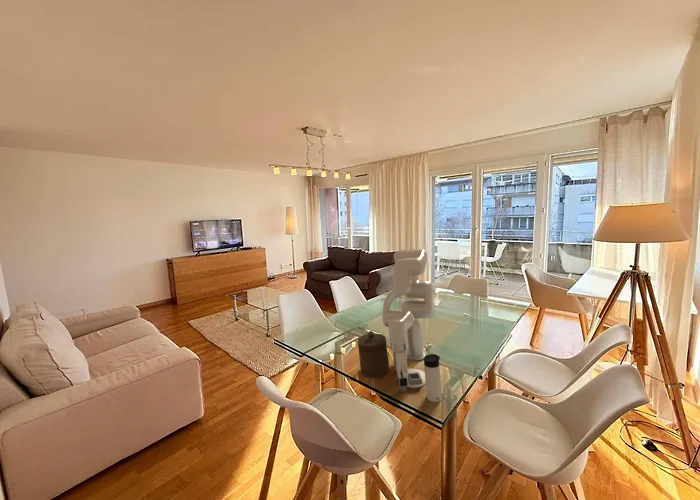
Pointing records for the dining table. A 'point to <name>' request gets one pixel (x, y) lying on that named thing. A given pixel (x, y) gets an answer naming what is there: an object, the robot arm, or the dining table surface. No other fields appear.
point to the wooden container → (373, 355)
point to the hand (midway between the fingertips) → (402, 382)
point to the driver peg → (402, 388)
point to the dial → (415, 378)
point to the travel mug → (433, 377)
